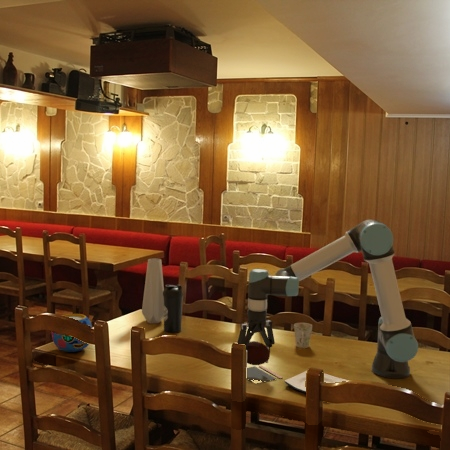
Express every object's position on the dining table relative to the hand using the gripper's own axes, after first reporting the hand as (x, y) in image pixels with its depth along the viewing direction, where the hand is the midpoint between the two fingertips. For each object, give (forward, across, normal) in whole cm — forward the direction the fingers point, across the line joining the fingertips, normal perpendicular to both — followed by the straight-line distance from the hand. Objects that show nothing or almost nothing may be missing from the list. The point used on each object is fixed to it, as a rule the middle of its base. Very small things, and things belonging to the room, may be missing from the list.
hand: (254, 364), depth 225 cm
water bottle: (+5, +3, -68) cm, 69 cm away
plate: (+5, -15, +21) cm, 26 cm away
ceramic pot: (+5, +55, -61) cm, 82 cm away
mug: (+5, -39, -18) cm, 44 cm away
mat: (+5, 0, 0) cm, 5 cm away
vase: (+5, +5, -87) cm, 88 cm away
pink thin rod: (+5, -8, 0) cm, 9 cm away
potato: (0, 0, 0) cm, 0 cm away
